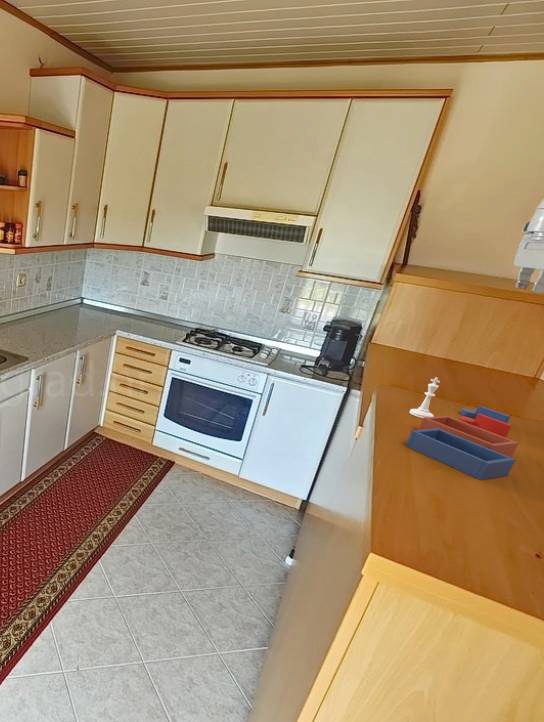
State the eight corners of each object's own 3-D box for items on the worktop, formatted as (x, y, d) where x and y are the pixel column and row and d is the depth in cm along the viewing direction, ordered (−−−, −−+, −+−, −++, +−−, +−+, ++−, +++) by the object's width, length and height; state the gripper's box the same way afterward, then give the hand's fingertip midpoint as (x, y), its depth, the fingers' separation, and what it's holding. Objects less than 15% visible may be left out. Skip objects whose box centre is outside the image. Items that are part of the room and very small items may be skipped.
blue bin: (507, 475, 92) (515, 459, 91) (480, 480, 89) (489, 463, 88) (431, 442, 104) (437, 428, 103) (405, 445, 101) (411, 430, 100)
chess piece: (407, 409, 124) (422, 372, 120) (430, 414, 122) (446, 377, 119) (411, 415, 120) (427, 377, 116) (435, 421, 118) (452, 382, 114)
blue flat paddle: (507, 427, 119) (513, 415, 118) (499, 428, 118) (505, 416, 117) (464, 412, 127) (469, 400, 126) (456, 412, 126) (461, 401, 125)
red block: (508, 437, 113) (515, 424, 112) (500, 438, 111) (506, 425, 110) (463, 420, 121) (468, 408, 120) (455, 421, 120) (460, 409, 118)
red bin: (511, 457, 101) (518, 442, 100) (487, 461, 98) (494, 445, 97) (440, 429, 113) (446, 415, 112) (417, 431, 110) (423, 417, 108)
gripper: (603, 226, 94) (568, 297, 98) (557, 228, 111) (529, 289, 115) (559, 222, 96) (527, 292, 101) (521, 224, 113) (496, 284, 118)
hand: (528, 290), depth 108 cm, fingers open, 8 cm apart
